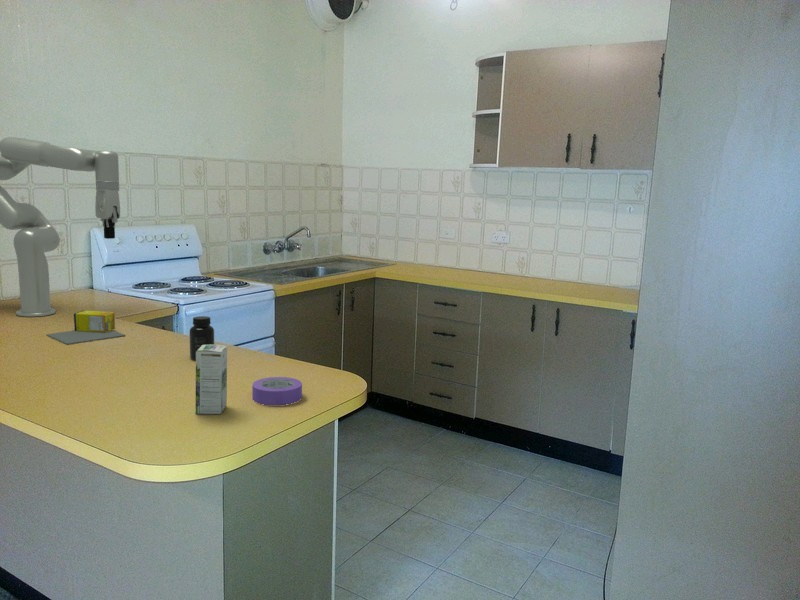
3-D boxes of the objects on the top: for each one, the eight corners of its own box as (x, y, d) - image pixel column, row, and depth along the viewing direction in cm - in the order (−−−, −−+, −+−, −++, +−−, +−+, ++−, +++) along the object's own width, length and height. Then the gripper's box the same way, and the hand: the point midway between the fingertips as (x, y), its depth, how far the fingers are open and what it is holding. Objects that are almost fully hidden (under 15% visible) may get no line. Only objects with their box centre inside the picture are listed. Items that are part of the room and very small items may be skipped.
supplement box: (84, 327, 210) (115, 329, 209) (74, 331, 204) (105, 333, 204) (83, 309, 209) (115, 311, 208) (73, 313, 203) (105, 315, 203)
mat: (46, 335, 199) (46, 334, 199) (103, 327, 212) (103, 326, 212) (67, 344, 189) (67, 343, 188) (125, 336, 202) (125, 334, 202)
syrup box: (201, 405, 142) (200, 343, 139) (227, 406, 142) (227, 344, 140) (195, 414, 136) (194, 350, 134) (222, 414, 137) (222, 350, 134)
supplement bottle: (219, 357, 182) (219, 317, 180) (203, 362, 176) (202, 321, 174) (201, 353, 185) (200, 314, 183) (184, 358, 179) (184, 318, 177)
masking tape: (256, 390, 155) (256, 375, 154) (303, 391, 156) (303, 376, 155) (248, 406, 143) (248, 390, 143) (299, 407, 144) (299, 391, 144)
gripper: (87, 185, 223) (89, 237, 226) (106, 186, 213) (108, 240, 216) (108, 186, 228) (110, 236, 232) (128, 187, 219) (129, 239, 222)
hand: (109, 238), depth 224 cm, fingers closed
